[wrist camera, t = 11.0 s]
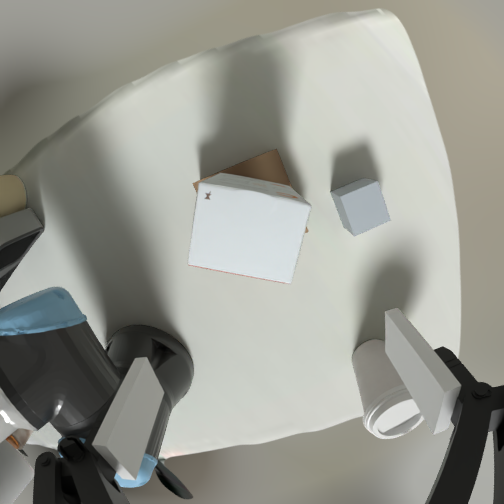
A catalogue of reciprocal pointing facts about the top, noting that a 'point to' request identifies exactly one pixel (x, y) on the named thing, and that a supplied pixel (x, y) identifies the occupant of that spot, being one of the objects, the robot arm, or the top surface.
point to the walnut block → (259, 170)
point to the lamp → (14, 466)
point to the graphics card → (16, 240)
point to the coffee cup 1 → (11, 195)
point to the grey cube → (361, 206)
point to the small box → (248, 227)
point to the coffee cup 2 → (383, 393)
